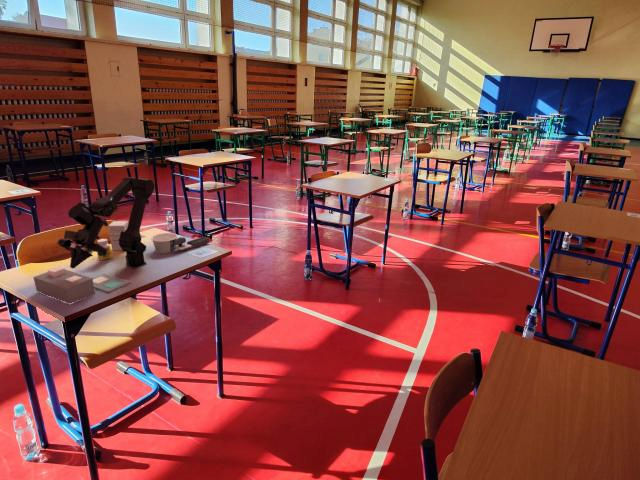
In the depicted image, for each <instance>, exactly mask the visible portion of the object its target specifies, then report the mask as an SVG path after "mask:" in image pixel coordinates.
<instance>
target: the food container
mask: <svg viewBox="0 0 640 480" xmlns="http://www.w3.org/2000/svg"><path fill="white" fill-rule="evenodd" d="M177 238H178V234H176V233H173V232H162V233H158V234H155V235H153V236H152V237H151V238H150V239H151V241H152V242H153V243H152V244H153V246H154V250H155V251H156V253H159V254H167V253H172V252H175V251H176V249H175V248H174V247H176V246H177V245H174V241H175V240H176V239H177Z"/></svg>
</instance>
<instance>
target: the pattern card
mask: <svg viewBox="0 0 640 480" xmlns="http://www.w3.org/2000/svg"><path fill="white" fill-rule="evenodd" d="M91 278H92V279H93V285H94V290H95V289H96V290H98V291H101V292H104V293H107V294H109V293H112V292H113V291H116V290H118V289H121V288H123V287H126V286H128V285H130V284H132V283H131V281H130V280H126V279H123V278H120V277H117V276H114V275H110V274H107V273H102V274H100V275H97V276H95V277H91Z"/></svg>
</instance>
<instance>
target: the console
mask: <svg viewBox="0 0 640 480" xmlns="http://www.w3.org/2000/svg"><path fill="white" fill-rule="evenodd" d="M65 273H66V274H63V275H60V276H58V277H52V276H49V273H48V271H47V272H44V273H41V274H39V275H36V276H33V281H34V285H35V289H36V292H37V291H39V292H41V293H43V294H45V295H48V296H51V297H54V298H56V299H59V300H62V301H65V302H67V303H72V302H75V301H77V300H80V299H82V300H84V299H83V298H85V297H87V298H89V297H91V296H94V295H96V291H95V288H94V285H93V279H92V278H93V277H90V276H86V275H83V274H81V273H80V274H79V273H77V272H74V271H71V270H68V269H65ZM73 276H78V277H81V278H82V279H81V280H78V281H76V282H73V283H70V282H67V281H65V279H67V278H70V277H73ZM93 294H94V295H93ZM45 295H44V296H45ZM90 295H91V296H90ZM88 296H89V297H88ZM85 299H86V298H85ZM80 301H81V300H80Z"/></svg>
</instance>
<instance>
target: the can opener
mask: <svg viewBox="0 0 640 480" xmlns="http://www.w3.org/2000/svg"><path fill="white" fill-rule="evenodd" d="M210 241H211V240H210V238H209V237H207V236H205V235H204V236H202V237H198V238H194V239H191V240H188V241H187V239H186V237H184V236H183V237H181V236H180V237H177V239H176V240H175V241H174V245H176V247H174V248H175V250H177V251H182V250H185V249H189V248H191V249H196V248H198V247H201V246H204V245H207V244H209V243H210ZM205 243H206V244H205Z"/></svg>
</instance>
